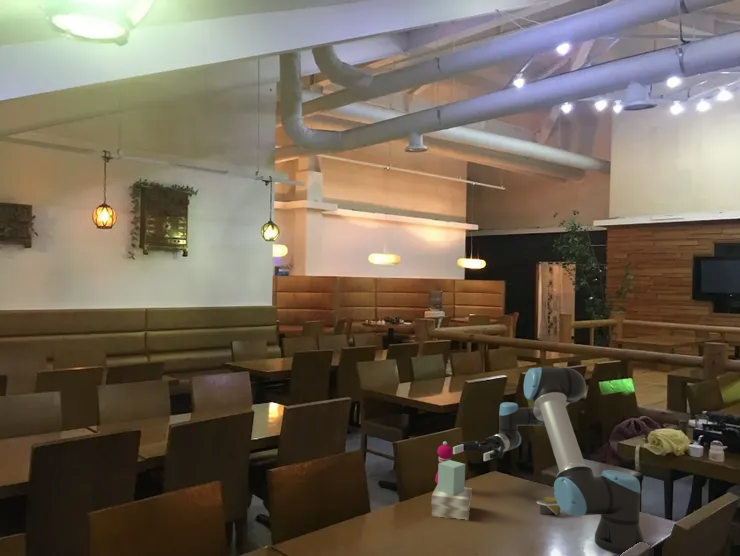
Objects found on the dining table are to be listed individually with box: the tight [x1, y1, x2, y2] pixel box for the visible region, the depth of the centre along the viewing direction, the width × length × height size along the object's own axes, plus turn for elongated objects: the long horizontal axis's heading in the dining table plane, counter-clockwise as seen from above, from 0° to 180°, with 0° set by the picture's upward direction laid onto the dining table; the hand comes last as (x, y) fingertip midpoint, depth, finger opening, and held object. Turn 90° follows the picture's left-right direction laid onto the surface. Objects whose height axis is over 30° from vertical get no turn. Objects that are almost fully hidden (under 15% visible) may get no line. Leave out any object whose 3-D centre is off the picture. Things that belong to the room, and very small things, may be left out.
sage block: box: [437, 459, 466, 496], centre depth 231 cm, size 7×7×10 cm
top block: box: [430, 483, 473, 511], centre depth 231 cm, size 13×13×4 cm
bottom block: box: [431, 504, 471, 521], centre depth 231 cm, size 13×13×4 cm
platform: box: [536, 496, 561, 516], centre depth 231 cm, size 12×18×7 cm, turn 102°
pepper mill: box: [434, 441, 453, 484], centre depth 254 cm, size 7×7×20 cm
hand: (468, 454), depth 241 cm, fingers open, 13 cm apart
